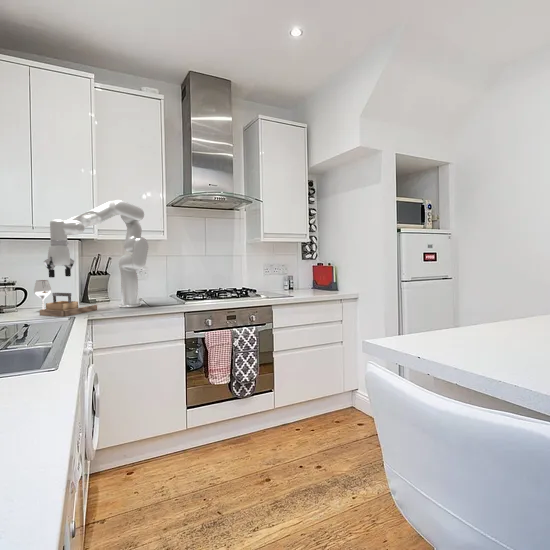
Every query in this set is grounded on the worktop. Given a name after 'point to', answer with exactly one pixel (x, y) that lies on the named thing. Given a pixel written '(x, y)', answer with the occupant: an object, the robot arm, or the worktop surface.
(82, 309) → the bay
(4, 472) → the worktop surface
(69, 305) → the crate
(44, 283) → the wineglass
